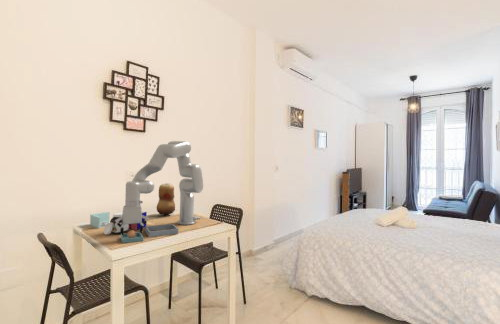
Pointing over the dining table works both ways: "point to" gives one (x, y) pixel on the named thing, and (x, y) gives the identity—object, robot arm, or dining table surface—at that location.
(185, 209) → the robot arm
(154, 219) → the dining table surface
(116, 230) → the spread jar
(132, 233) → the ball
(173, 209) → the butternut squash
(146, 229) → the grey hollow rectangular frame
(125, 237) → the dish
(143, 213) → the puzzle cube
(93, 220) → the l-shaped corner panel
